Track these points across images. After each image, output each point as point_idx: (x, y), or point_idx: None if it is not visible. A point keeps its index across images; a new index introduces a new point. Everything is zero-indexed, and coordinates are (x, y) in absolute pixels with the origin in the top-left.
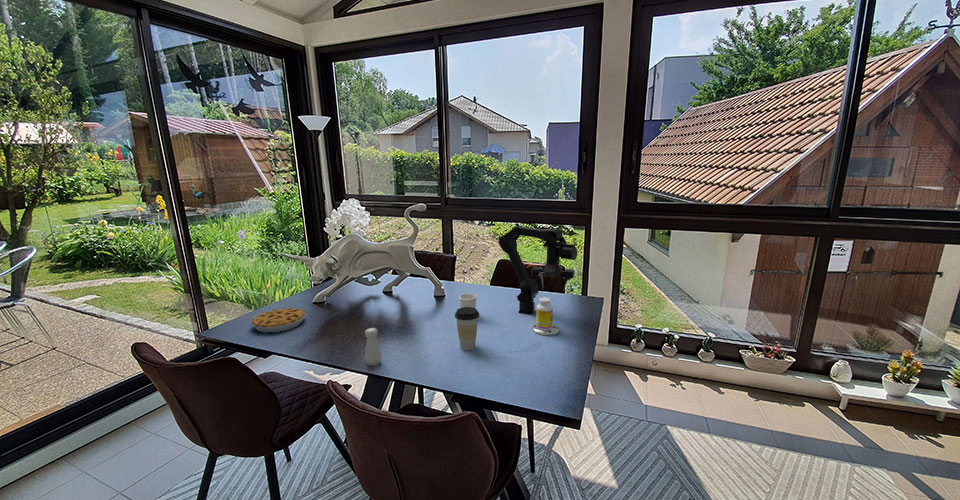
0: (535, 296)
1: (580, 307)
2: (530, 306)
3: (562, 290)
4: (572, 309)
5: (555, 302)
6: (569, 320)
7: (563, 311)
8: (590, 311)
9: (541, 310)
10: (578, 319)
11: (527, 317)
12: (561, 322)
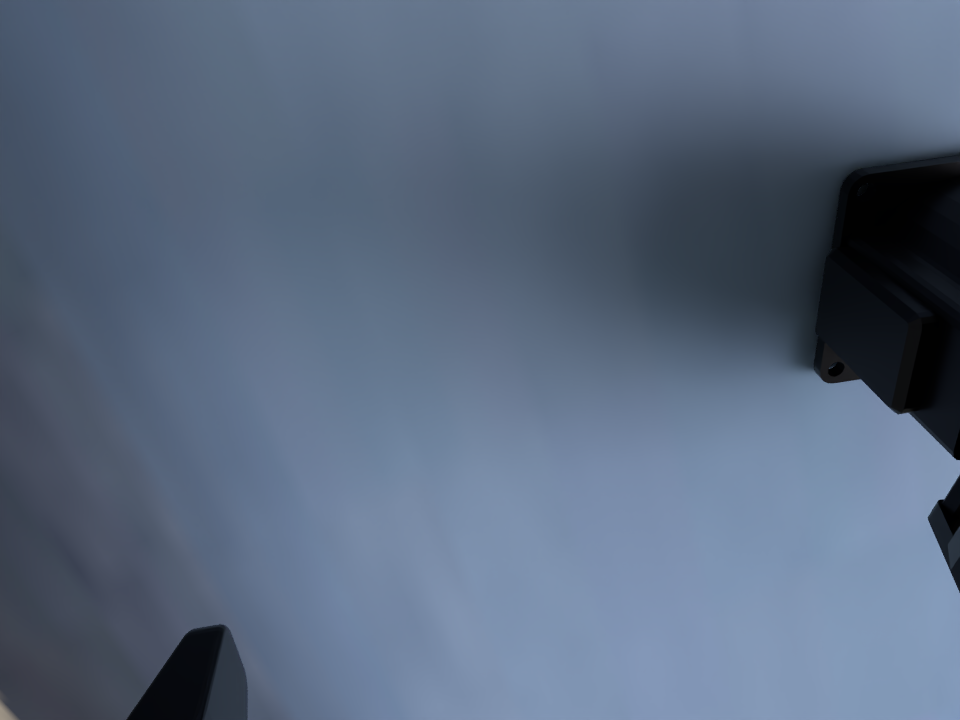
0: (937, 531)
1: None
2: (938, 272)
3: (195, 669)
4: (287, 616)
5: (576, 701)
6: (131, 213)
7: (379, 506)
8: (24, 662)
9: None
10: (13, 326)
11: (898, 5)
12: (222, 47)
